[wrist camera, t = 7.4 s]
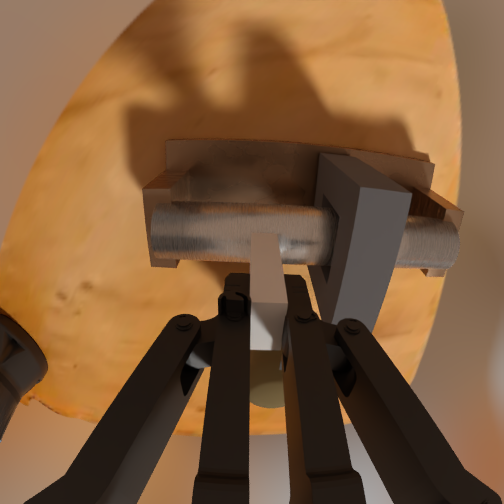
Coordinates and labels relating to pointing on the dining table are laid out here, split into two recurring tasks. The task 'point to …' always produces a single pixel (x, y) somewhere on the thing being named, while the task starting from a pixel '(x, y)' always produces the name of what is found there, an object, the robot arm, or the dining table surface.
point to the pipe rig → (280, 204)
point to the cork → (266, 378)
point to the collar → (358, 238)
